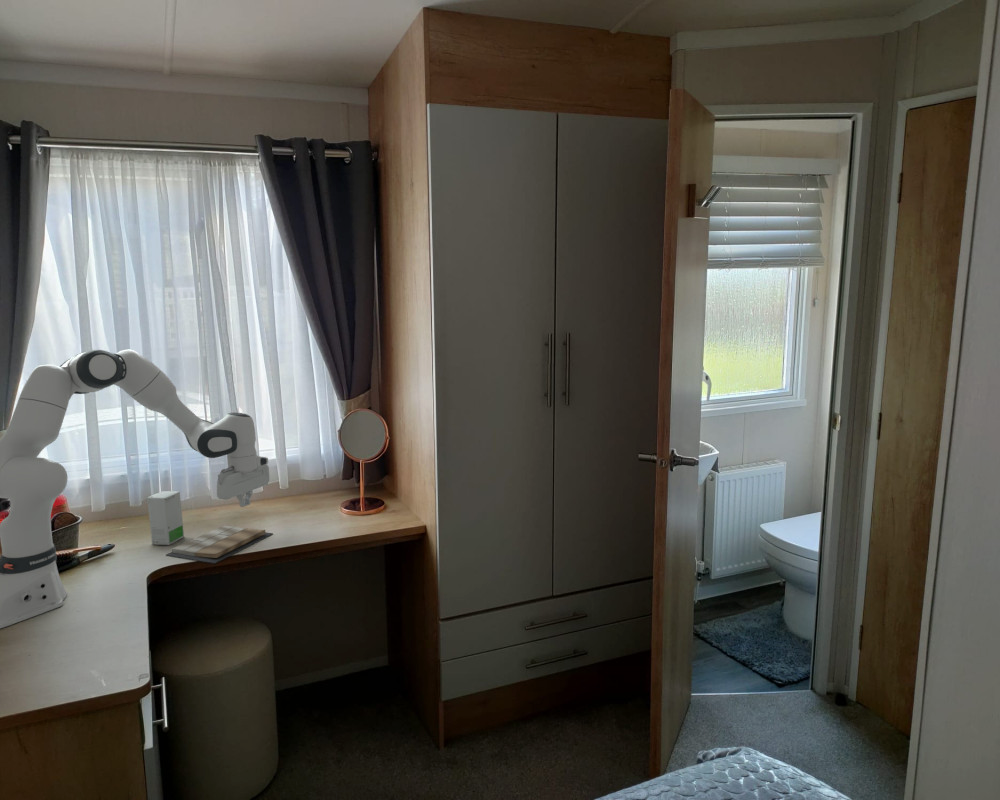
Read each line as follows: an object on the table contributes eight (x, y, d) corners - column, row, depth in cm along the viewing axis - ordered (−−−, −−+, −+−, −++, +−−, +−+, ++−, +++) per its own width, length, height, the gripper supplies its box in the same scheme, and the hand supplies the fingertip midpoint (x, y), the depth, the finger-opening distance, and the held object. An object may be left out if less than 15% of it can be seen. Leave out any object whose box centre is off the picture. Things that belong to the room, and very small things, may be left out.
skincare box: (168, 546, 227) (164, 498, 224) (150, 544, 228) (145, 497, 225) (185, 536, 235) (180, 490, 232) (167, 535, 236) (162, 489, 233)
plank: (216, 558, 214) (215, 554, 214) (195, 556, 217) (195, 552, 217) (265, 533, 234) (265, 529, 234) (246, 532, 237) (245, 528, 237)
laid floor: (194, 556, 217) (194, 552, 217) (172, 552, 220) (171, 548, 220) (245, 532, 237) (245, 528, 237) (223, 529, 240) (223, 525, 240)
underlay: (214, 563, 212) (214, 562, 212) (165, 555, 219) (165, 554, 219) (272, 534, 236) (272, 533, 235) (226, 527, 242) (226, 526, 242)
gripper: (226, 471, 216) (229, 516, 219) (271, 457, 235) (274, 498, 237) (210, 469, 219) (213, 513, 221) (256, 455, 238) (258, 496, 240)
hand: (245, 505), depth 229 cm, fingers closed
